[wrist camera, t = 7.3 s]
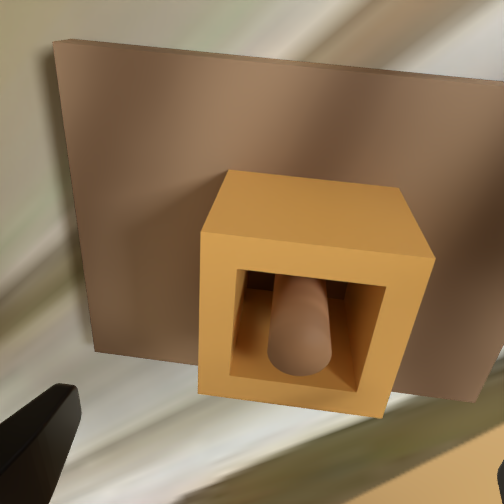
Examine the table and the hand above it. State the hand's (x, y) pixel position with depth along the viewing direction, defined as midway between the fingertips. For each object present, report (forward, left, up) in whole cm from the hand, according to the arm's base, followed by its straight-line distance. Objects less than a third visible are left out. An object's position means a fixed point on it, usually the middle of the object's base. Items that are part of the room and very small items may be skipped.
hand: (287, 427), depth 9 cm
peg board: (0, 0, -8) cm, 8 cm away
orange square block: (0, 0, -7) cm, 7 cm away
